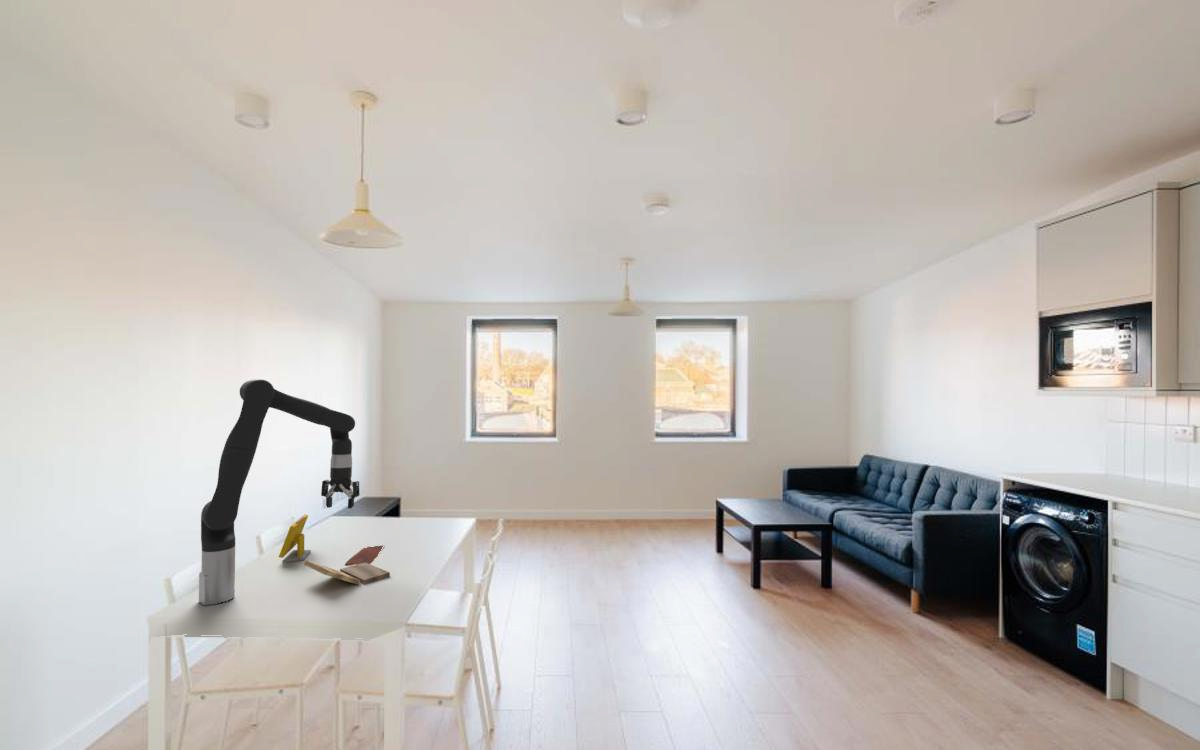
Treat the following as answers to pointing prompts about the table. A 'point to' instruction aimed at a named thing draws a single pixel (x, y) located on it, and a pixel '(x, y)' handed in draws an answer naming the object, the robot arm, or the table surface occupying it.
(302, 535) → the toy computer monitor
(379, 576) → the walnut board
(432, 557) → the table surface
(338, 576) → the light wood board
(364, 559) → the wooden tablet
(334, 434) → the robot arm
